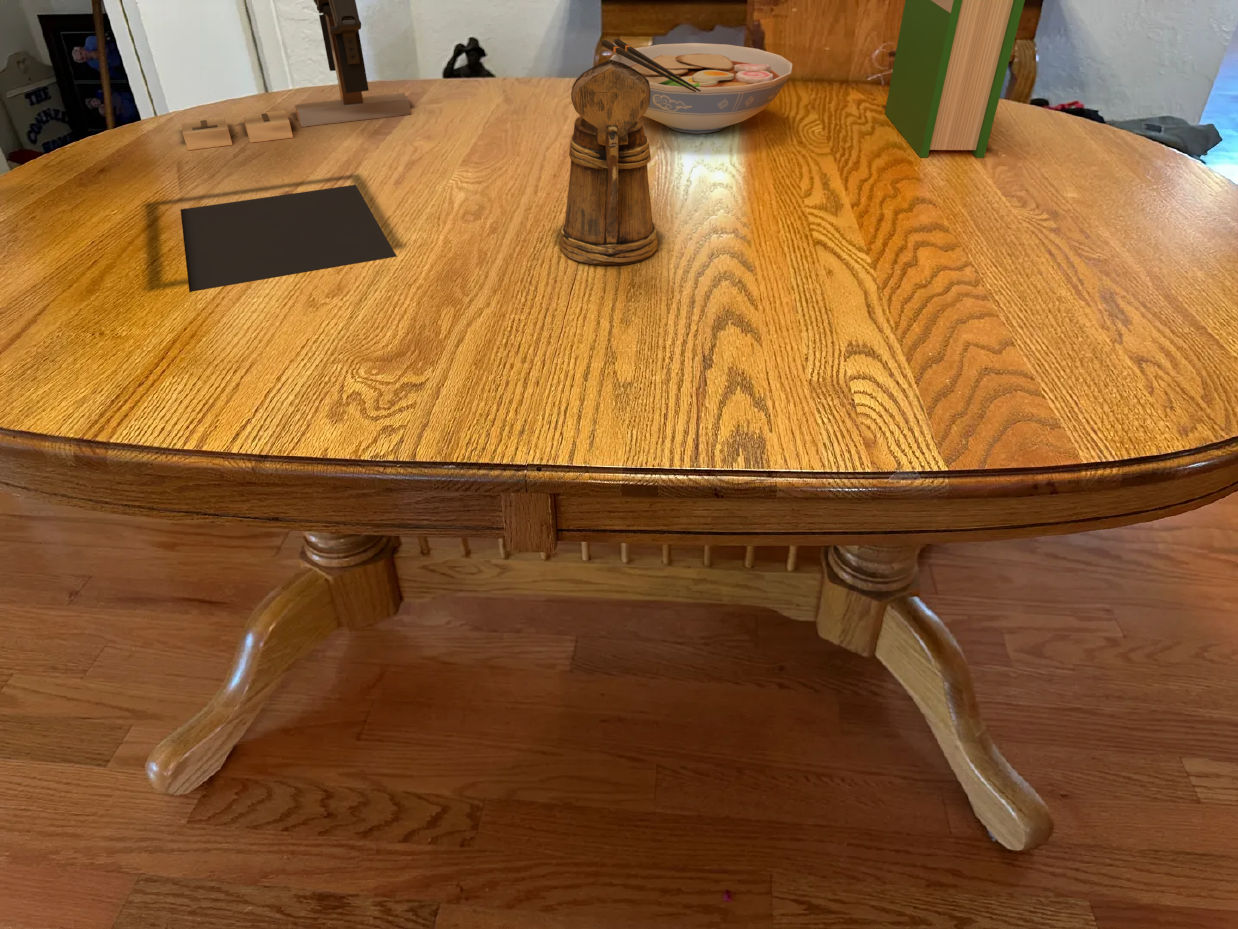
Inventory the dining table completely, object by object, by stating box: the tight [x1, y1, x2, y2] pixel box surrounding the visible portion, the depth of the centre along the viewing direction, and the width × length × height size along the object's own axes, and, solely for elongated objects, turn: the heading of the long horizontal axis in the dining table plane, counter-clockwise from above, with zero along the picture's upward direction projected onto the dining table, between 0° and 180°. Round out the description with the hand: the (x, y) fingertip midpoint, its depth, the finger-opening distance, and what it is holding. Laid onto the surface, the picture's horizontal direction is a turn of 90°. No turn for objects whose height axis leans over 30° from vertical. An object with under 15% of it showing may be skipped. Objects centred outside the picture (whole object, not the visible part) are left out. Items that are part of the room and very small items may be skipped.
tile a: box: [180, 116, 233, 151], centre depth 103 cm, size 5×5×2 cm
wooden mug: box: [559, 58, 658, 267], centre depth 72 cm, size 9×14×18 cm, turn 2°
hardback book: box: [884, 0, 1026, 159], centre depth 98 cm, size 18×7×24 cm, turn 179°
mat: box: [180, 184, 398, 293], centre depth 81 cm, size 20×20×1 cm
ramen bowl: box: [600, 38, 794, 135], centre depth 106 cm, size 25×23×8 cm
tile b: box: [242, 109, 294, 144], centre depth 105 cm, size 5×5×2 cm
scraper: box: [294, 14, 412, 128], centre depth 107 cm, size 3×14×12 cm, turn 114°
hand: (348, 79), depth 108 cm, fingers open, 11 cm apart
